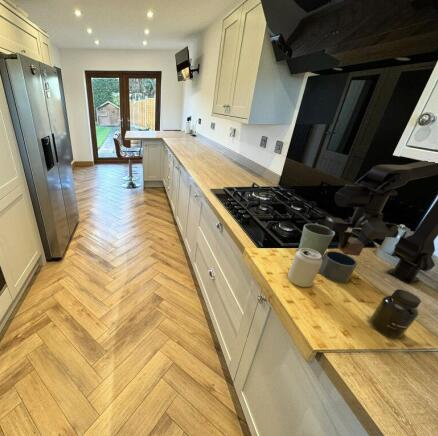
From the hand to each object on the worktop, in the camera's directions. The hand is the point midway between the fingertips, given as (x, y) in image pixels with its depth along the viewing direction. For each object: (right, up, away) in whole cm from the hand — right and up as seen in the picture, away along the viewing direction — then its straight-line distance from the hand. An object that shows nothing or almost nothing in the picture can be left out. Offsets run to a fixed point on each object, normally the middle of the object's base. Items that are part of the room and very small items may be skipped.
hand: (348, 248), depth 80 cm
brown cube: (0, -1, 0) cm, 1 cm away
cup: (-1, -10, +6) cm, 12 cm away
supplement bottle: (-3, -20, -15) cm, 25 cm away
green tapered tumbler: (-2, -5, +17) cm, 18 cm away
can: (-16, -12, +2) cm, 20 cm away
